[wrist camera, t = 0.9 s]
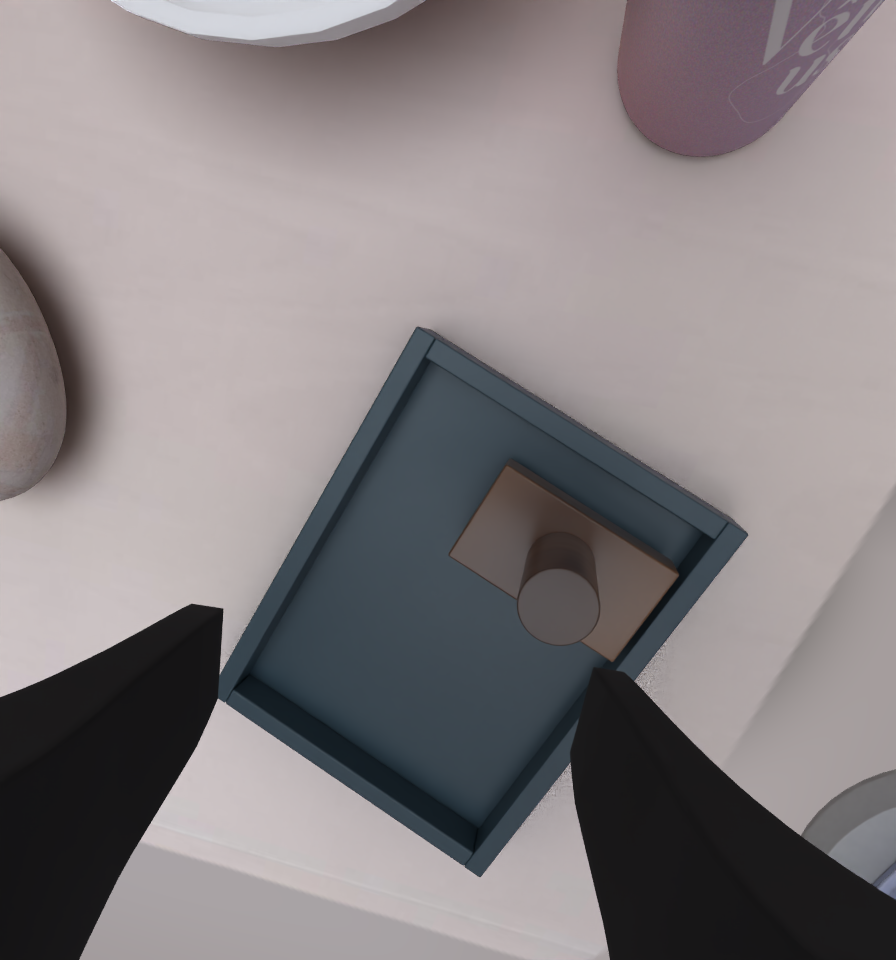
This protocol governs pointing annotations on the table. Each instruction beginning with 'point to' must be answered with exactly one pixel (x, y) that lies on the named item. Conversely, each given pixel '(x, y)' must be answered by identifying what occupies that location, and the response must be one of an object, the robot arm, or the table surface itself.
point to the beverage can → (725, 65)
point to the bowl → (269, 18)
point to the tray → (449, 606)
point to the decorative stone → (26, 388)
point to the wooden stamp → (562, 563)
